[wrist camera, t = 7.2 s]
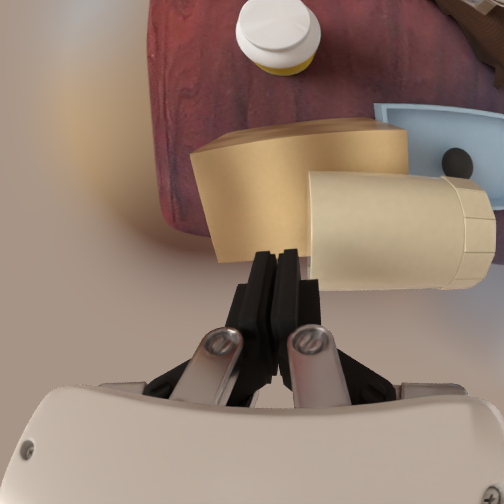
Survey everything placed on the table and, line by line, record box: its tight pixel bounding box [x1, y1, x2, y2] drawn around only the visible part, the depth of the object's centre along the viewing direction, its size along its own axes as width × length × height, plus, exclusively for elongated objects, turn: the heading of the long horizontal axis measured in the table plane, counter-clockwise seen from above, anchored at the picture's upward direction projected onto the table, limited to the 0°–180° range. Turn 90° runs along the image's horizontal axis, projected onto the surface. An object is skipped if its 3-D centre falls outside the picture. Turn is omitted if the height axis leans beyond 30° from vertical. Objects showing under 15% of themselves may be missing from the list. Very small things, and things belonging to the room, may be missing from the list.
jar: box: [307, 171, 496, 291], centre depth 15 cm, size 7×7×11 cm
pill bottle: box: [236, 0, 321, 76], centre depth 18 cm, size 6×6×12 cm
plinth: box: [190, 117, 409, 263], centre depth 24 cm, size 15×9×12 cm, turn 101°
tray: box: [374, 103, 504, 210], centre depth 24 cm, size 23×12×3 cm, turn 101°
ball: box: [442, 148, 473, 179], centre depth 24 cm, size 4×4×4 cm
